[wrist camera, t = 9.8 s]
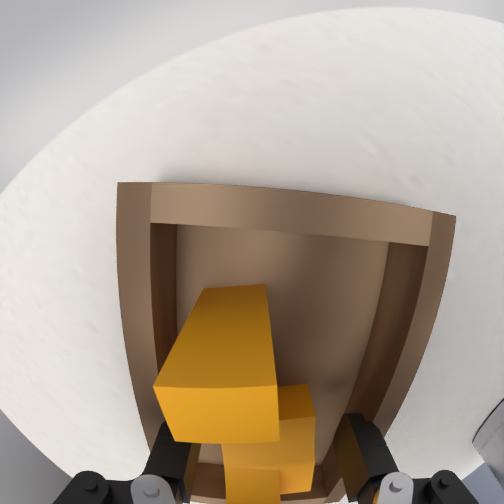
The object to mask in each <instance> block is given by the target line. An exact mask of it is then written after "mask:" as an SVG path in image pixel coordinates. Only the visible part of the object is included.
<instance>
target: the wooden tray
mask: <svg viewBox="0 0 504 504" xmlns="http://www.w3.org/2000/svg"><path fill="white" fill-rule="evenodd" d="M455 223H456V216H454V215H449V214H445V213H440V212H435V211H430V210H425V209H420V208H415V207H410V206H404V205H398V204H393V203H387V202H381V201H374V200H368V199H361V198H354V197H347V196H340V195H332V194H324V193H316V192H307V191H298V190H288V189H277V188H265V187H253V186H238V185H222V184H201V183H166V182H118V186H117V212H116V246H117V272H118V287H119V299H120V309H121V318H122V327H123V334H124V341H125V348H126V354H127V360H128V365H129V371H130V376H131V381H132V386H133V390H134V395H135V399H136V403H137V407H138V411H139V415H140V419H141V423H142V426H143V430H144V433H145V437H146V440H147V443H148V447H149V450H150V453H151V450H152V447H153V445H154V443H155V439H156V437H157V435H158V431H159V429H160V426H161V424H162V423H163V422H164V421H165V420H166V419H165V417H164V414H163V412H162V409H161V407H160V404H159V402H158V399H157V396H156V394H155V391H154V388H153V385H154V383H155V381H156V379H157V377H158V375H159V373H160V371H161V369H162V367H163V365H164V363H165V361H166V359H167V357H168V355H169V353H170V351H171V349H172V347H173V345H174V343H175V341H176V339H177V337H178V336H179V334H180V332H181V330H182V328H183V326H184V324H185V322H186V320H187V318H188V316H189V314H190V313H191V311H192V309H193V307H194V305H195V303H196V301H197V299H198V297H199V296H200V294H201V292H202V290H203V288H214V287H228V286H242V285H255V284H265V285H266V293H267V301H268V310H269V318H270V327H271V335H272V344H273V353H274V362H275V371H276V380H277V387H282V386H292V385H300V384H308V387H309V391H310V394H311V398H312V402H313V406H314V410H315V414H316V422H315V466H314V472H313V479H312V485H311V490H310V491H306V492H299V493H290V494H280V501H281V504H325V503H332V502H339V501H340V500H341V499H342V498H343V496H344V495H345V494H346V490H345V486H344V483H343V479H342V475H341V471H340V468H339V464H338V461H337V457H336V453H335V450H334V445H333V438H334V434H335V432H336V429H337V427H338V425H339V422H340V420H341V417H342V415H343V414H344V413H354V412H361V413H362V414H363V416H364V418H365V420H366V422H373V423H374V424H375V425H376V426H377V427H378V428H379V429H380V431H381V433H382V436H383V438H384V437H385V435H386V433H387V431H388V430H389V428H390V426H391V424H392V422H393V421H394V419H395V417H396V415H397V413H398V411H399V409H400V407H401V405H402V403H403V401H404V399H405V397H406V395H407V393H408V390H409V388H410V386H411V384H412V381H413V379H414V377H415V374H416V372H417V370H418V367H419V365H420V362H421V360H422V357H423V354H424V352H425V349H426V346H427V343H428V341H429V338H430V335H431V332H432V328H433V325H434V322H435V319H436V315H437V312H438V309H439V305H440V301H441V297H442V293H443V289H444V285H445V281H446V276H447V272H448V267H449V262H450V256H451V251H452V244H453V238H454V231H455ZM190 501H193V502H200V503H207V504H226V484H225V471H224V461H223V454H222V447H221V444H211V443H201V448H200V453H199V458H198V463H197V468H196V473H195V479H194V484H193V489H192V494H191V499H190Z"/></svg>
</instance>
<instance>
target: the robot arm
mask: <svg viewBox="0 0 504 504" xmlns="http://www.w3.org/2000/svg"><path fill="white" fill-rule="evenodd" d="M333 445H334V450H335V453H336V457H337V461H338V464H339V468H340V471H341V475H342V479H343V483H344V486H345V490H346V494H347V498H348V502H349V503H350V502H355V501H358V504H479V503H478V502H477V500H476V499H475V498H474V497H473V495H472V494H471V493H470V492H469V490H468V489H467V488H466V487H465V485H464V484H463V483H462V482H461V480H460V479H459V478H458V477H457V476H456V474H455V473H453V472H452V471H449V470H441V471H438V472H437V473H435V474H434V475H433V477H432V478H421V479H412V478H411V477H410V476H409V475H407V474H405V473H402V472H400V471H399V470H398V468H397V466H396V464H395V461H394V459H393V457H392V455H391V453H390V451H389V448H388V446H386V442H385V440H384V439H383V436H382V433H381V431H380V429H379V428H378V427H377V426H376V425H375V424H374V423H373V422H366V420H365V418H364V416H363V414H362V413H361V412H354V413H344V414H343V415H342V417H341V420H340V422H339V425H338V427H337V429H336V432H335V434H334V438H333ZM473 445H474V447H475V448H476V450H477V451H478V452H479V454H480V455H481V457H482V458H483V460H484V461H485V463H486V464H487V466H488V467H489V469H490V470H491V472H492V473H493V475H494V476H495V478H496V479H497V481H498V482H499V484H500V485H501V487H502V489H503V490H504V400H503V402H502V403H501V404H500V405H499V406H498V407H497V408H496V409H495V411H494V412H493V413H492V414H491V415H490V417H489V418H488V419H487V420H486V422H485V423H484V424H483V426H482V427H481V428H480V430H479V432H478V433H477V435H476V437H475V439H474V441H473ZM200 448H201V443H191V442H178V441H175V440H174V438H173V436H172V433H171V431H170V429H169V426H168V424H167V422H166V420H165V421H164V422H163V423H162V424H161V426H160V429H159V431H158V435H157V437H156V439H155V443H154V445H153V447H152V450H151V453H150V456H149V458H148V461H147V464H146V467H145V469H144V471H143V473H142V474H141V475H140V476H139V477H137V478H135V479H133V480H129V481H116V480H106V479H105V478H104V477H103V476H102V475H100V474H99V473H96V472H93V471H82V472H80V473H78V474H76V475H75V476H74V478H73V479H72V480H71V482H70V483H69V484H68V485H67V486H66V488H65V489H64V490H63V492H62V493H61V494H60V495H59V497H58V498H57V499H56V500H55V501H54V503H53V504H183V503H188V504H190V499H191V494H192V489H193V484H194V479H195V473H196V468H197V463H198V458H199V453H200Z"/></svg>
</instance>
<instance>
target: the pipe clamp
mask: <svg viewBox="0 0 504 504" xmlns="http://www.w3.org/2000/svg"><path fill="white" fill-rule="evenodd" d="M153 388H154V391H155V394H156V396H157V399H158V402H159V404H160V407H161V409H162V412H163V414H164V417H165V419H166V422H167V424H168V426H169V429H170V431H171V433H172V436H173V438H174V440H175V441H178V442H191V443H211V444H221V447H222V454H223V461H224V471H225V484H226V504H281V501H280V494H290V493H299V492H306V491H310V490H311V485H312V479H313V472H314V466H315V422H316V414H315V410H314V406H313V402H312V398H311V394H310V391H309V387H308V384H300V385H292V386H282V387H277V380H276V371H275V362H274V353H273V344H272V335H271V327H270V318H269V310H268V301H267V293H266V285H265V284H255V285H242V286H228V287H214V288H203V290H202V292H201V294H200V296H199V297H198V299H197V301H196V303H195V305H194V307H193V309H192V311H191V313H190V314H189V316H188V318H187V320H186V322H185V324H184V326H183V328H182V330H181V332H180V334H179V336H178V337H177V339H176V341H175V343H174V345H173V347H172V349H171V351H170V353H169V355H168V357H167V359H166V361H165V363H164V365H163V367H162V369H161V371H160V373H159V375H158V377H157V379H156V381H155V383H154V385H153Z"/></svg>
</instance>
